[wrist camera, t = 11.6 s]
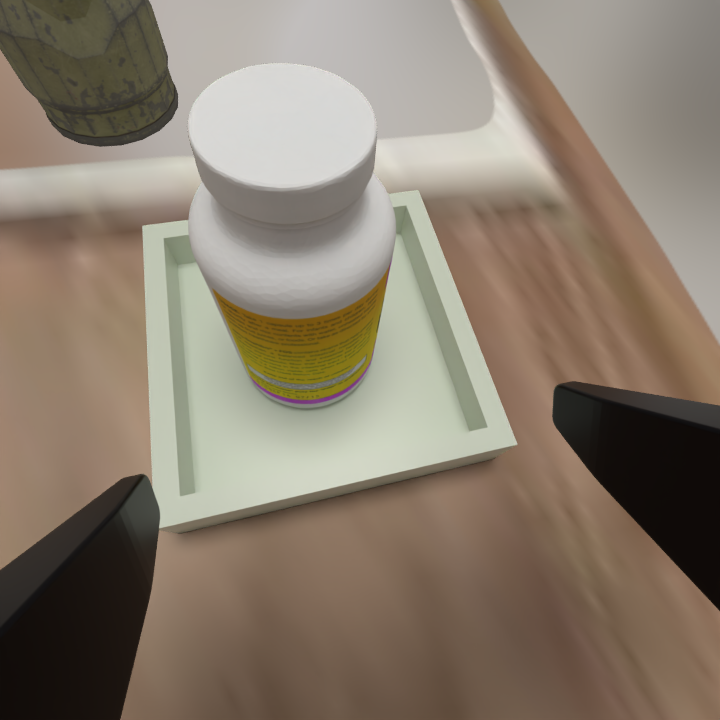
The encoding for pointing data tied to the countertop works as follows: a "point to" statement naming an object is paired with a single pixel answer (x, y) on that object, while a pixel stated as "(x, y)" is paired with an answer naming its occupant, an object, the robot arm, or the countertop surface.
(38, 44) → the thermos
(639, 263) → the countertop surface
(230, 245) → the supplement bottle
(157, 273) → the tray
